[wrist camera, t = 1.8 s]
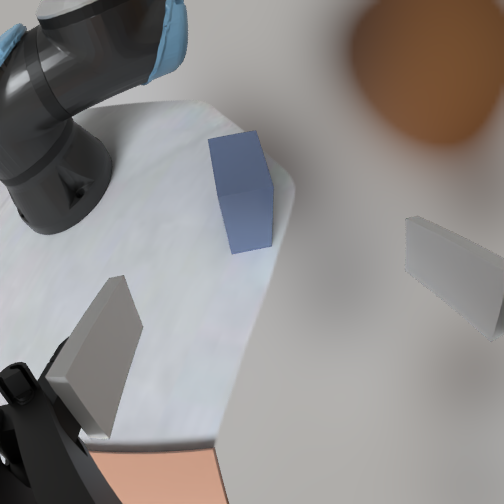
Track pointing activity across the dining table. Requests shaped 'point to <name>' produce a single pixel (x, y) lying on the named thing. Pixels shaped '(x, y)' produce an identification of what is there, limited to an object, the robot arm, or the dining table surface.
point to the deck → (243, 190)
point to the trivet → (163, 476)
